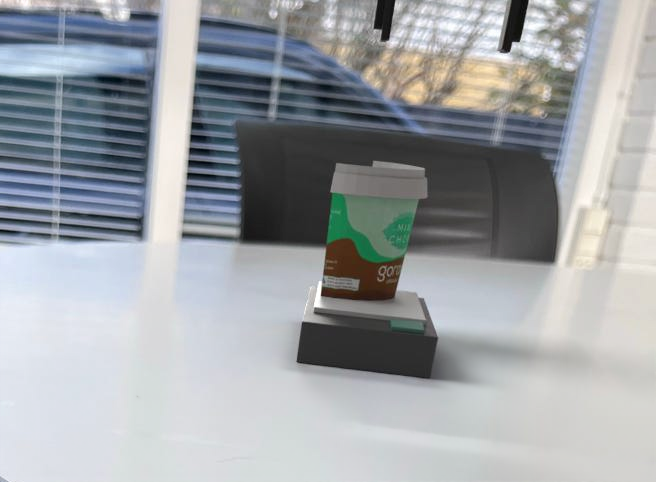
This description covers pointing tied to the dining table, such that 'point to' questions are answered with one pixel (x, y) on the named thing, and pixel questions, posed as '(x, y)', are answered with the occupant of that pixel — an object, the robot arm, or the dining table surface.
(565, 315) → the dining table surface
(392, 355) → the scale
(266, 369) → the dining table surface
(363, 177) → the food container
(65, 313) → the dining table surface
